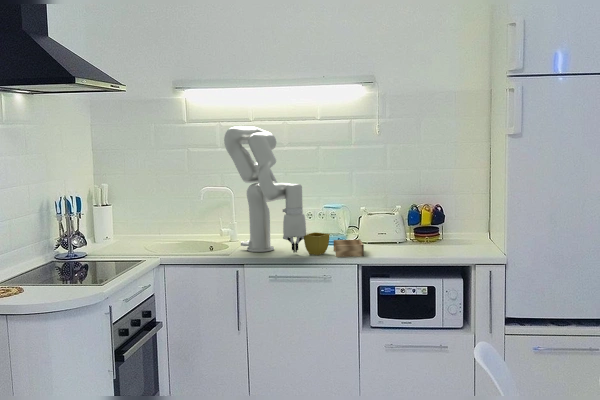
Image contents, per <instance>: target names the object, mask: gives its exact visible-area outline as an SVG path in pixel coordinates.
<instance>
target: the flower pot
mask: <svg viewBox="0 0 600 400" xmlns="http://www.w3.org/2000/svg"><path fill="white" fill-rule="evenodd" d="M330 236H331V234H330V233H325V232H311V233H306V235H305V236H304V239H303V241H304V248H305V250H306V251H307V253H308V254H309V255H315V256H320V255H323V254H325V253H326V251H327V249H328V247H329V243H330Z"/></svg>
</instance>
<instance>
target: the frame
mask: <svg viewBox="0 0 600 400" xmlns="http://www.w3.org/2000/svg"><path fill="white" fill-rule="evenodd" d="M333 251H334V252H335V257H336V258H338V257H341V258H342V257H345V258H346V257H364V255H365V254H364V253H365V245H364V243H363V242H362V240H361V239H359V238H358V239H333Z"/></svg>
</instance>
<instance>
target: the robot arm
mask: <svg viewBox="0 0 600 400" xmlns="http://www.w3.org/2000/svg"><path fill="white" fill-rule="evenodd" d="M223 143H224V147H225V150H226V151H227V153H228V155H229V156H230V158H231V160H232V162H233V163H234V165H235V168H236V170H237V172H238V174H239V176H240V178H241V180H242V181H243V182H244V183H246V184H250V185H249V186H248V187H247V190H246V199H247V204H248V213H249V214H248V215H249V216H248V217H249V240H247V241H240V247H247V248H246V251H248V252H251V253H252V252H253V253H266V252H271V251H272V252H273V251H274V250H275V248H274V247H275V246H272V244H271V214H270V212H271V211H270V208H269V206H268V204H267V203H268V202H275V201H279V200H281V201H282V200H285V208H282V213H285V214H284V216H283V224H282V227H283V228H282V229H283V230H282V232H283V235H282V239H283V240H286V241H288V242H289V243H290V244H291V251H293V253H298V251H299V243H300V242H301V241H304V236H305V235H306V234H307V222H306V217H305V216H306V215H305V214H304V213H303V209H304V208H303V207H304V206H303V185H302V184H300V183H289V182H278V181H277V179H276V177H275V174H274V173H273V171H272V167H274V166H275V165H276V162H277V157H275V154H274V153H273V150H274V149H275V148H276V146H277V139H276V136H275V135H274V134H273V133H271V132H270V131H267V130H264V129H263V128H262V129H261V128H260V127H256V126H252V125H251V126H246V125H245V126H244V125H243V126H242V125H239V126H233V127H230V128H228V129H227V130H226V131H225V134H224V137H223ZM243 145H248V147H249V148H250V151H251V153H252V155H253V156H254V159H255V161H254V160H253V158H252V157H251V154H250V152H249V151H248V150H247V149H246V148H245V147H244V146H243ZM294 238H295V239H296V241H294Z"/></svg>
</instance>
